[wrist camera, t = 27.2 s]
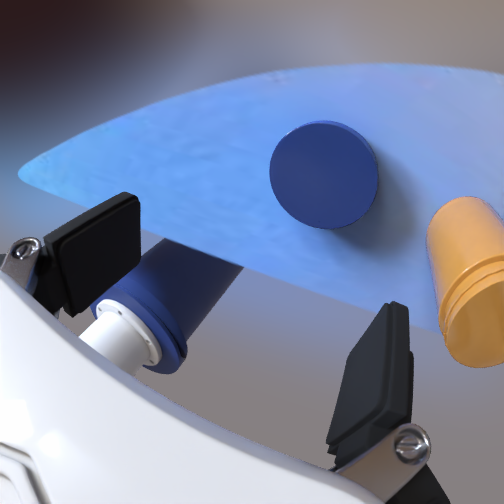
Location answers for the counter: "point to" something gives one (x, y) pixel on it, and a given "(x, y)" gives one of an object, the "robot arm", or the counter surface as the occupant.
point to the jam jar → (469, 279)
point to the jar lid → (324, 174)
